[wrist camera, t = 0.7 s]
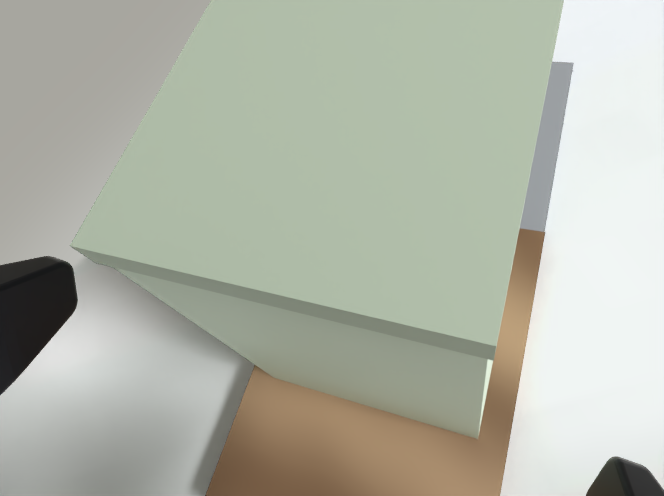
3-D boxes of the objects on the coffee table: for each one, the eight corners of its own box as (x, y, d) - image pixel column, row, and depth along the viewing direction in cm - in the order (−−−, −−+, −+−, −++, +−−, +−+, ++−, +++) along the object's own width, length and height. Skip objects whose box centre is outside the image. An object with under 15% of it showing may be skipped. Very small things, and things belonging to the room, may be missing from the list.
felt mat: (543, 235, 21) (544, 231, 21) (326, 201, 25) (325, 197, 24) (572, 67, 25) (573, 62, 25) (379, 57, 28) (378, 53, 28)
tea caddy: (480, 442, 17) (496, 346, 7) (270, 379, 20) (70, 245, 10) (519, 236, 20) (570, -35, 10) (333, 207, 23) (228, -30, 13)
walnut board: (478, 612, 16) (478, 617, 15) (214, 502, 19) (203, 501, 19) (541, 243, 21) (545, 232, 20) (323, 208, 25) (318, 197, 24)
